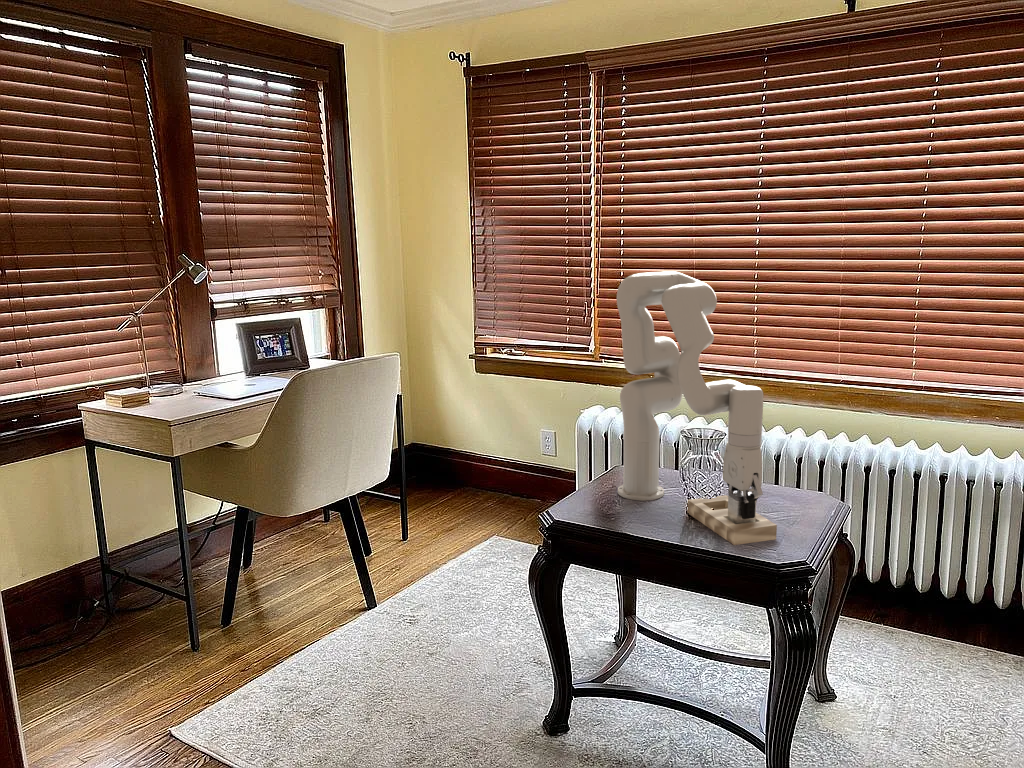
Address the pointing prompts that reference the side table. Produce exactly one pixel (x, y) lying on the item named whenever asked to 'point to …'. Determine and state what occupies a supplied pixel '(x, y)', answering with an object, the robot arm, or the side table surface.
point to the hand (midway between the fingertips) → (741, 513)
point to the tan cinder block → (727, 529)
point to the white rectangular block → (737, 508)
